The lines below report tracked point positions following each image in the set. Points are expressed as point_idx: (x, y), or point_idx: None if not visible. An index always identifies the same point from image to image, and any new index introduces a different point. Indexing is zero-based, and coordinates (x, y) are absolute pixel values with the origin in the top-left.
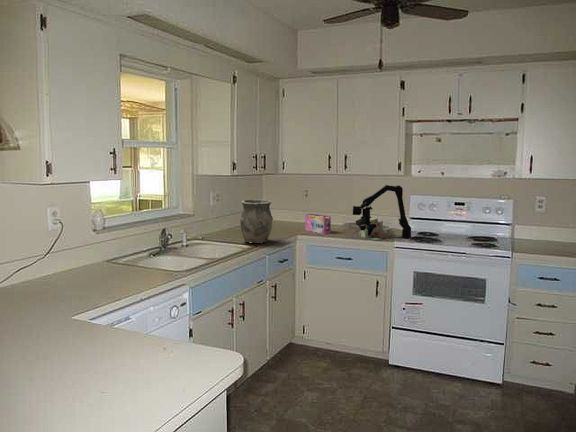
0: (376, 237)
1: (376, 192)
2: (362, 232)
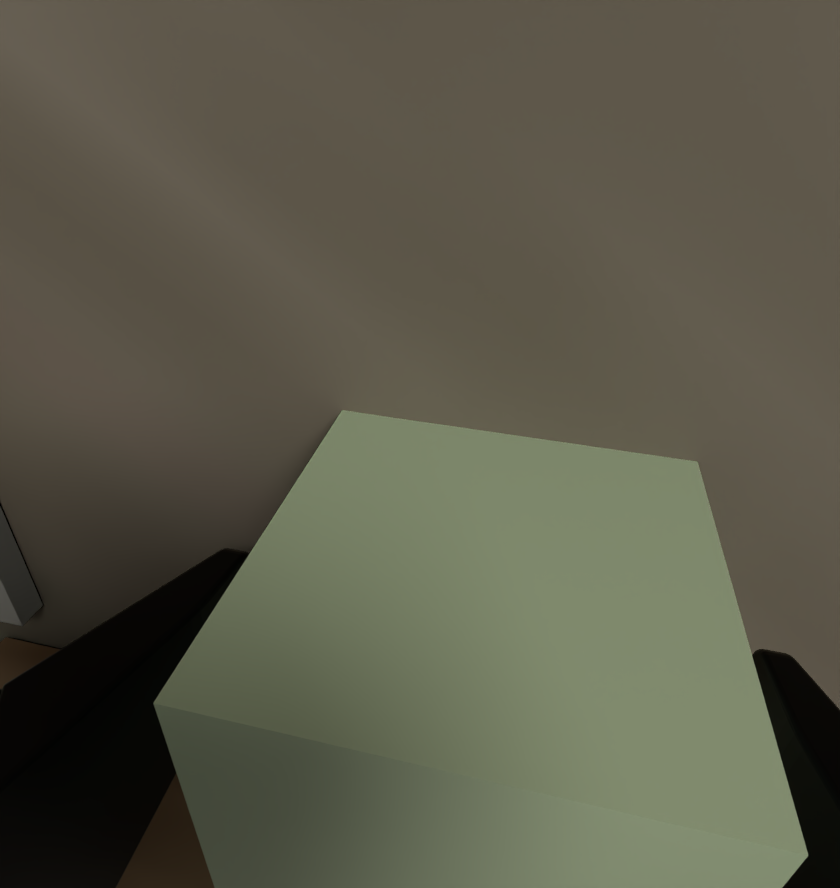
0: None
1: None
2: (569, 648)
